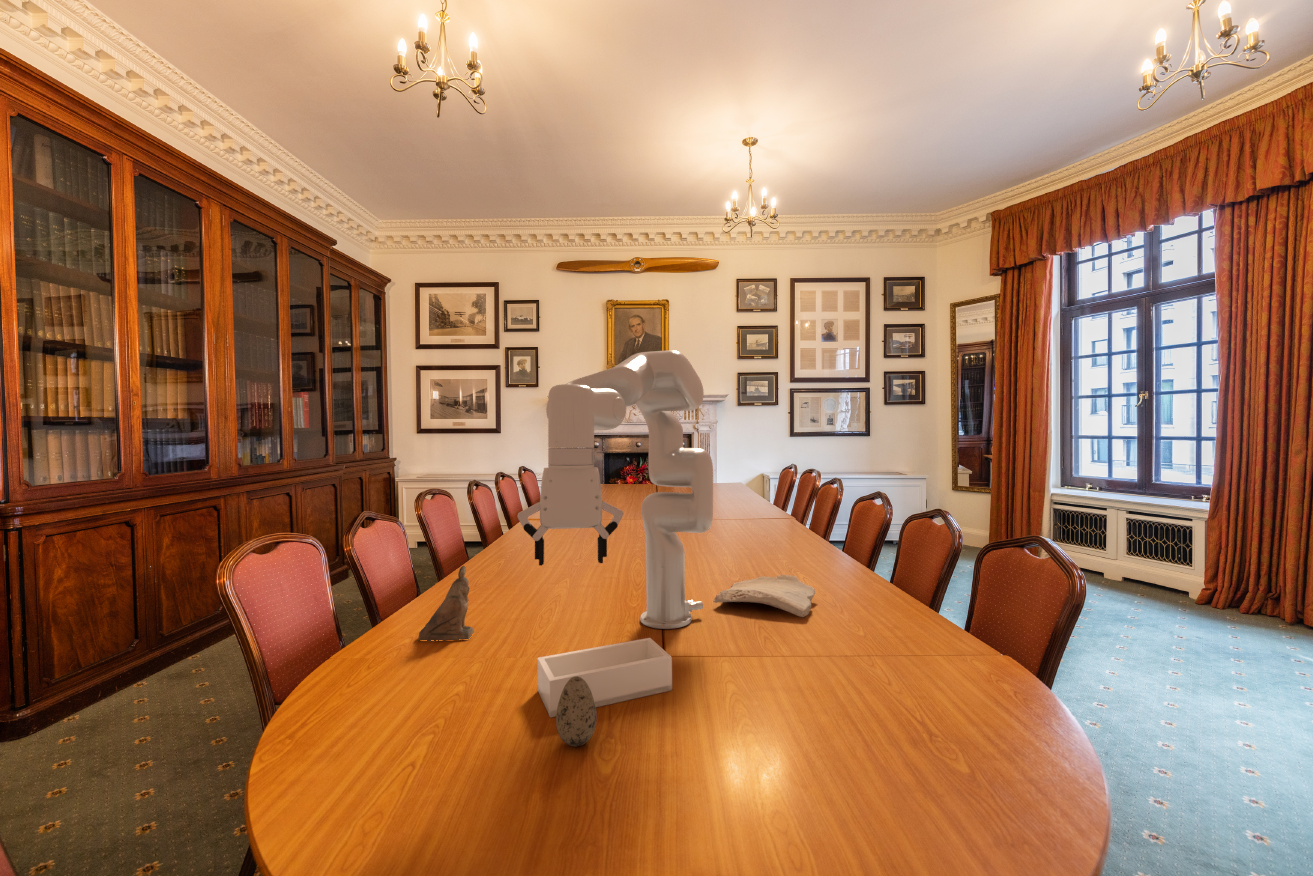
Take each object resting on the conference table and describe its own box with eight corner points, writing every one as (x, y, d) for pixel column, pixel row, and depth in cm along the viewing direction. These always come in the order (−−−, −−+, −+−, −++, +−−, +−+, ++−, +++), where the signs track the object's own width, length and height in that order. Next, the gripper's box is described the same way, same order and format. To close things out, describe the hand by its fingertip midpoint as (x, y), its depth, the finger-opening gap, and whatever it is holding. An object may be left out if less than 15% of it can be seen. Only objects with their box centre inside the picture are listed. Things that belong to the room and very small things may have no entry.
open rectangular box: (650, 668, 105) (649, 637, 105) (672, 690, 96) (671, 656, 96) (538, 691, 96) (537, 657, 96) (550, 717, 87) (549, 681, 87)
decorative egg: (598, 732, 83) (597, 667, 83) (595, 755, 77) (594, 686, 77) (559, 733, 83) (558, 668, 82) (553, 756, 77) (552, 687, 77)
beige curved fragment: (734, 592, 158) (710, 606, 140) (735, 567, 158) (712, 577, 140) (819, 606, 147) (805, 623, 129) (820, 579, 148) (807, 591, 130)
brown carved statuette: (474, 643, 125) (489, 568, 125) (464, 653, 120) (480, 574, 120) (425, 632, 126) (441, 557, 126) (414, 641, 120) (430, 563, 120)
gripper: (620, 458, 94) (621, 556, 94) (519, 459, 91) (519, 560, 91) (625, 459, 87) (625, 565, 86) (515, 460, 84) (515, 570, 83)
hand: (571, 562), depth 88 cm, fingers open, 9 cm apart
